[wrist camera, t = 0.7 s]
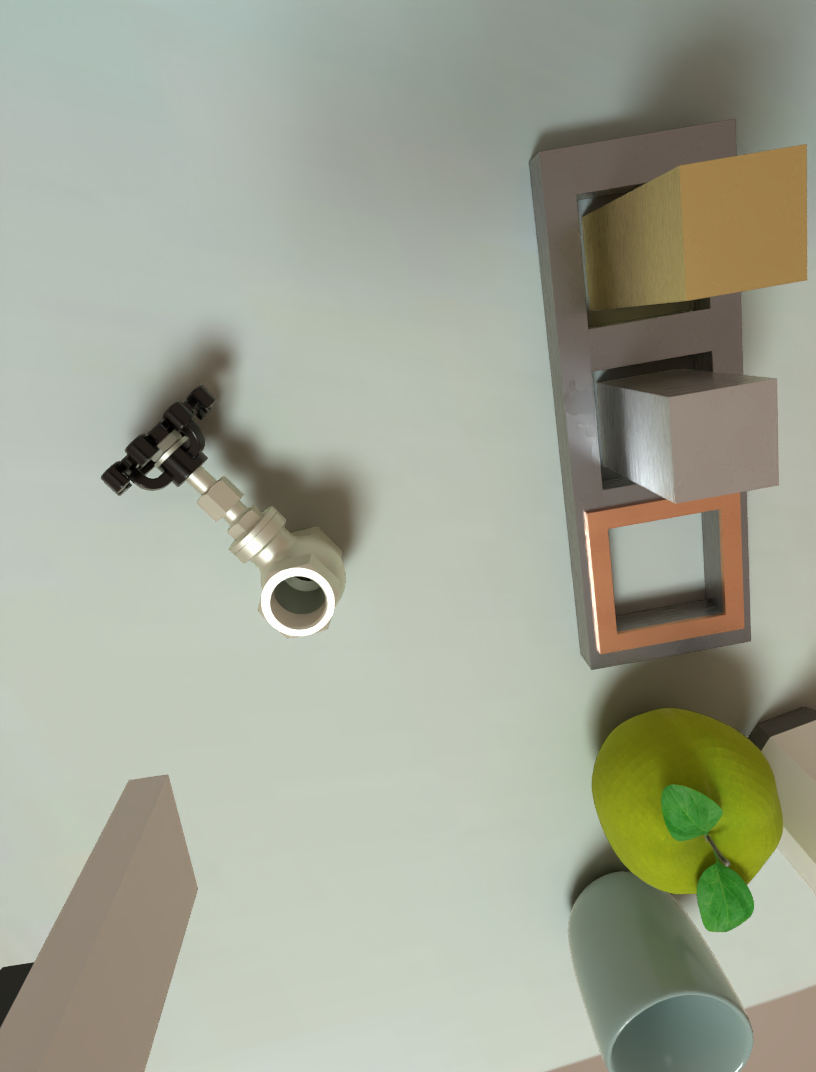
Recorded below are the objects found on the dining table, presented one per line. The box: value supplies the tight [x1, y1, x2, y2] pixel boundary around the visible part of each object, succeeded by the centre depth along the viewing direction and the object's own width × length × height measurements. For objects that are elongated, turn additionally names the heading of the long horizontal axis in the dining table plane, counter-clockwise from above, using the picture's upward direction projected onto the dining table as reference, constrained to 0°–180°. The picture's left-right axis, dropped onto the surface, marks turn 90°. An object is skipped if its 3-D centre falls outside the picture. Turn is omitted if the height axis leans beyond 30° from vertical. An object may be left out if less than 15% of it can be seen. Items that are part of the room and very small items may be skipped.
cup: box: [568, 871, 753, 1072], centre depth 41 cm, size 8×8×10 cm
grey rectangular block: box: [596, 368, 779, 504], centre depth 33 cm, size 4×4×9 cm
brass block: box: [582, 144, 807, 311], centre depth 30 cm, size 4×4×11 cm
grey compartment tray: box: [529, 119, 751, 670], centre depth 36 cm, size 26×9×2 cm, turn 9°
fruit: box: [592, 708, 783, 932], centre depth 38 cm, size 9×9×10 cm
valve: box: [101, 385, 346, 638], centre depth 34 cm, size 7×7×12 cm
